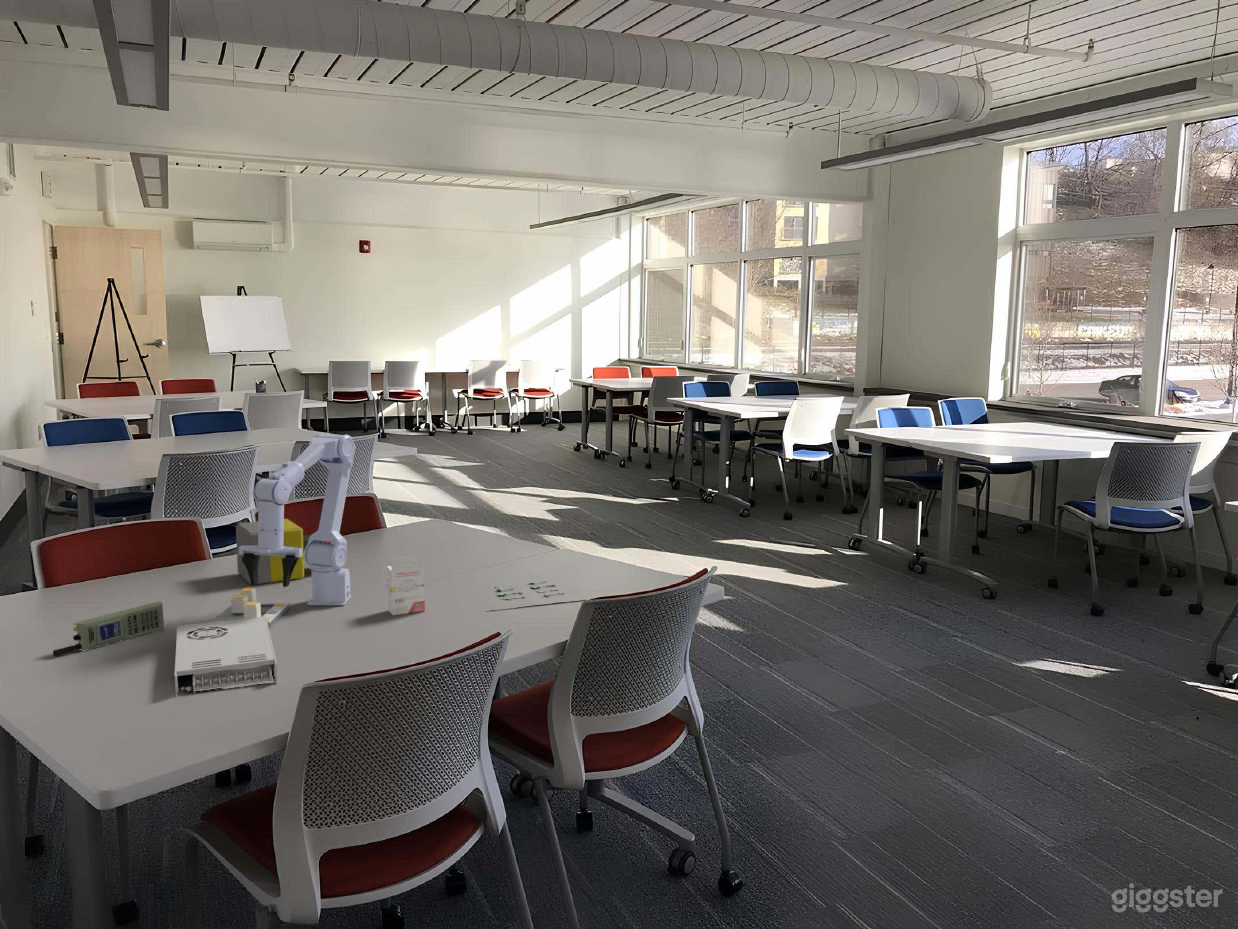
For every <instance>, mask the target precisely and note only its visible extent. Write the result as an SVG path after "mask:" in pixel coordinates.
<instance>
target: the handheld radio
mask: <svg viewBox="0 0 1238 929" xmlns="http://www.w3.org/2000/svg"><path fill="white" fill-rule="evenodd" d="M163 607H164V606H163V602H162V601H156V602H152V603H147V604H143V605H139V606H136V607H131V608H128V609H124V610H120V611H116V612H112V613H108V614H103V615H100V616H97V617H92V618H89V619H84V620H80V621H76V622H73V623H72V625H73V626H75V627H73V628H72V630H73V632H76V634H75V635H73V637H72V639H73V641H77V643H76V644H75V645H70V646H66V647H62V648H61V647H60V648H57V649H54V650H52V655H53V656H54V657H57V656H60V655H61V656H62V655H65V654H67V653H71V652H74V651H80V650H79V649H82V650H86V649H90V648H94V649H96V648H95V647H97V646H102V645H105V646H107V645H106V644H109V645H111V644H110V643H112V644H114V643H113V642H116V643H118V642H117V641H119V642H121V641H120V640H123V641H125V640H124V639H126V640H128V639H127V638H130V639H132V638H131V637H133V638H137V637H141V636H143V634H144V635H147V633H148V634H151V633H155V632H158V631H161V629H162V630H164V629H165V621H164V608H163ZM157 630H158V631H157ZM154 631H155V632H154ZM140 635H141V636H140ZM136 636H137V637H136ZM102 647H103V646H102Z"/></svg>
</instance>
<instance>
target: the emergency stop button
mask: <svg viewBox="0 0 1238 929" xmlns="http://www.w3.org/2000/svg"><path fill="white" fill-rule="evenodd" d="M317 531H318V529H317V530H316V532H317ZM314 533H315V532H314ZM314 533H312V532H311V533H310V534H309V535H307V534H306V535H304V529H303V528H302V527H301V526H299V525H297V524H296V523H294V522H293V521H292V520H290V519H288V518H284V541H283V546H286V547H294V548H302V556H301V557H299V560H298V561H297V563H296V565H295V567H294V569H293V572H292V575H291V578H290V581H293V580H292V579H297V580H302V579H303V578H305V560H304V550H305V548H306V546H307V544H308V541H309V537H310V536H311V535H312V534H314ZM235 535H236V538H235V539H236V540H235V541H236V557H237V558H236V559H237V562H236V563H237V573H238V574H239V575H240V576H241V577H242V578H243V579H244V580H245V581H246V583H247V582H248V584H249V585H251V581H250V577H249V574H248V571H247V569H246V567H245V565H244V563H243V561H242V557H243V556H244V555H239V547H240V546H258V521H252V522H251V521H249V522H240V523H239V522H238V524H237V525H235ZM323 543H325V544H332V543H331V542H323ZM282 554H283V553H282ZM285 557H286V556H270V555H260V557H259V563H258V583H257V584H259V585H264V584H263V583H267V584H273V583H272V582H274V583H280V582H279V581H282V582H283V565H282V558H285ZM301 578H302V579H301ZM257 584H256V585H255V586H258V585H257Z"/></svg>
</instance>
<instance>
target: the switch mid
mask: <svg viewBox="0 0 1238 929" xmlns="http://www.w3.org/2000/svg"><path fill="white" fill-rule="evenodd" d="M230 602H231V604H230V606H231V608H232V613H244V606H245V605H246V604H247V603H248V596H246V595H240V594H236V595H234V596H233V597H232V598H231V599H230Z"/></svg>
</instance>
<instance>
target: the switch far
mask: <svg viewBox="0 0 1238 929" xmlns="http://www.w3.org/2000/svg"><path fill="white" fill-rule="evenodd" d="M239 595H246V596H248V602H257V591H256V588H254V587H252V588H251V587H244V588H243V589H241V591H240V592H239Z"/></svg>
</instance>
